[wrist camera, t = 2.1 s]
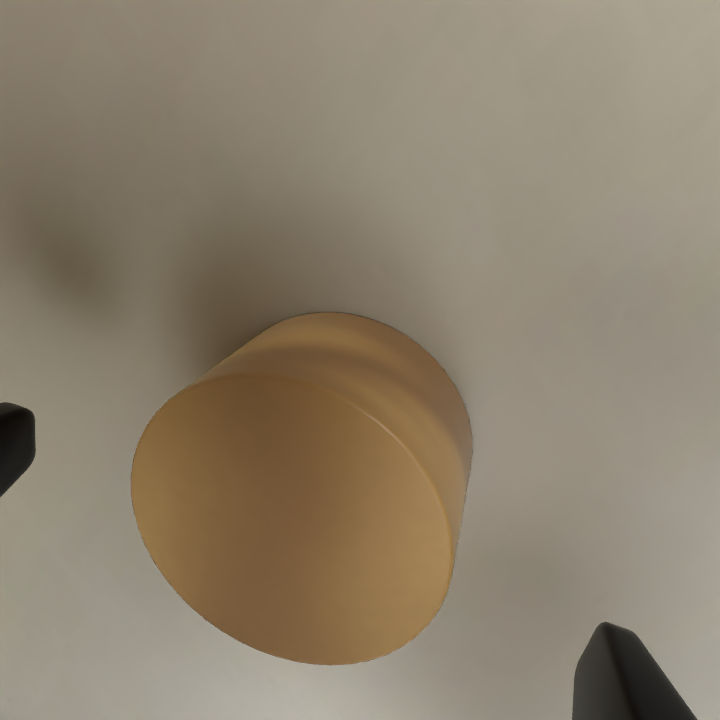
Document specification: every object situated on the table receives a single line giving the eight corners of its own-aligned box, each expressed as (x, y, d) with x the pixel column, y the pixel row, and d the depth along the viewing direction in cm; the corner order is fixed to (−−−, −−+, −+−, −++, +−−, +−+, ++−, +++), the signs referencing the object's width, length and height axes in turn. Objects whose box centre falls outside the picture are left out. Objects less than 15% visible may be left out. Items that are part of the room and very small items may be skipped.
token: (509, 360, 10) (503, 446, 7) (431, 578, 12) (402, 712, 9) (239, 277, 10) (137, 326, 8) (210, 495, 12) (122, 595, 10)
